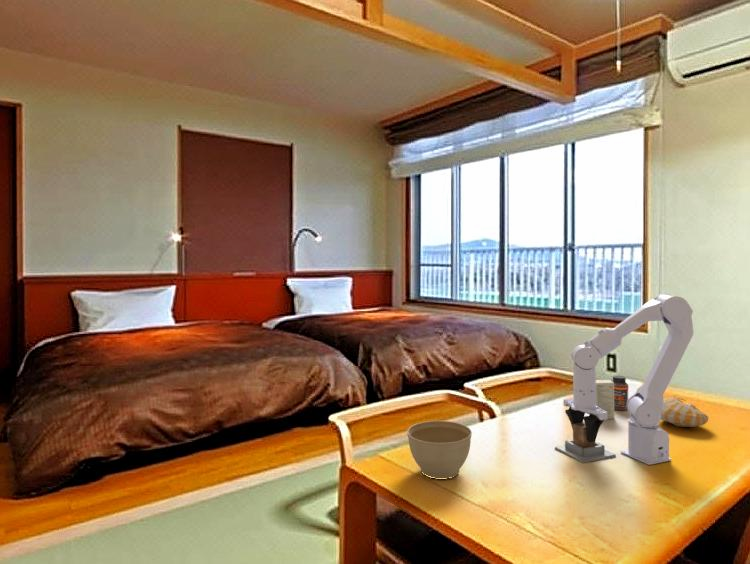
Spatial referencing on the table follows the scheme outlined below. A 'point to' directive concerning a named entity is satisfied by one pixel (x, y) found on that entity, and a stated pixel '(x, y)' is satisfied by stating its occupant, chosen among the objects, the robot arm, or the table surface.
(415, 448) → the planter bowl
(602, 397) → the skincare box
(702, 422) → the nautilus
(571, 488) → the table surface
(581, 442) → the walnut block
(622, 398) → the supplement bottle
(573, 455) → the stand
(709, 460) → the table surface
